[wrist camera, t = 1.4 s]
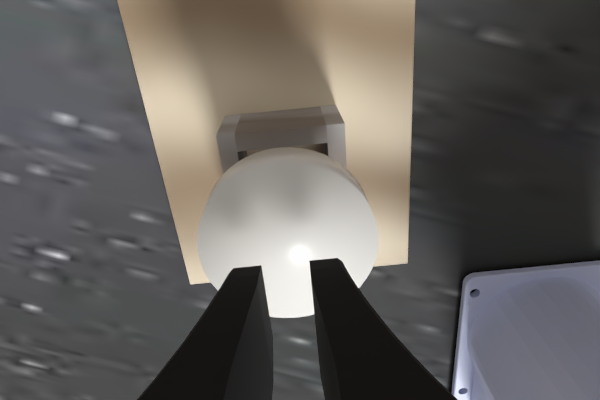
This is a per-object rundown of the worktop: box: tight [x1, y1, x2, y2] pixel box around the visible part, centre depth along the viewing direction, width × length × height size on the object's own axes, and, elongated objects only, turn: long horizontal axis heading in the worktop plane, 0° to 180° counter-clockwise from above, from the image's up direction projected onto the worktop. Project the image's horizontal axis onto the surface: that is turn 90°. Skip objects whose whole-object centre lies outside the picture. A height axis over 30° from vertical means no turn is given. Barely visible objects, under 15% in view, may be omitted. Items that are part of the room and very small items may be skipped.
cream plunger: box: [197, 147, 379, 318], centre depth 13 cm, size 5×5×4 cm
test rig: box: [117, 0, 415, 284], centre depth 14 cm, size 21×10×4 cm, turn 5°
